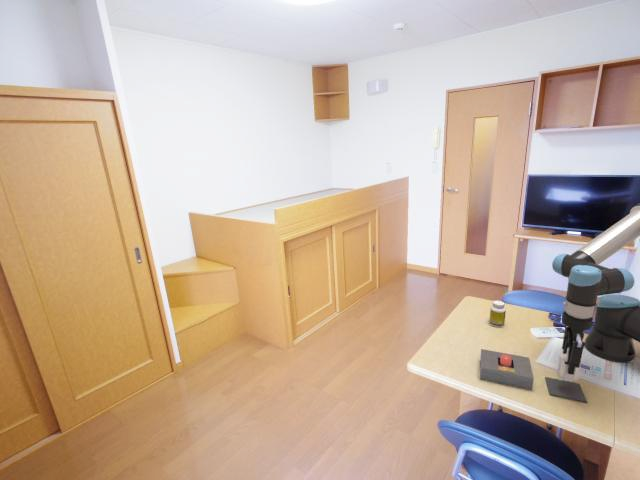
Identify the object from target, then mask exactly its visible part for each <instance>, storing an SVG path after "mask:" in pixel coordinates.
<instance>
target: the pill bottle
mask: <svg viewBox="0 0 640 480" xmlns="http://www.w3.org/2000/svg"><path fill="white" fill-rule="evenodd" d="M506 312H507V311H506V307H505V302H503V301H501V300H493V301H492V305H491V307H490V309H489V321H488V322H489V324H490V326H493V327H495V328H502V327H504V326H505V322H506Z"/></svg>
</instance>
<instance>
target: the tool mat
mask: <svg viewBox="0 0 640 480" xmlns="http://www.w3.org/2000/svg"><path fill="white" fill-rule="evenodd" d="M544 380H545V382H546V383H545V384H546V387H547V390H548V394H549V396H551V397H557V398H560V399H564V400H570V401H575V402H580V403H585V404H587V403H588V401H587V398H586V395H585V393H584V391H583V388H582V387H581V384H580V383H578V382H570V381H565V380H563V379H559V378H555V377H554V378H553V377H548V376H545V377H544Z"/></svg>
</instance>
